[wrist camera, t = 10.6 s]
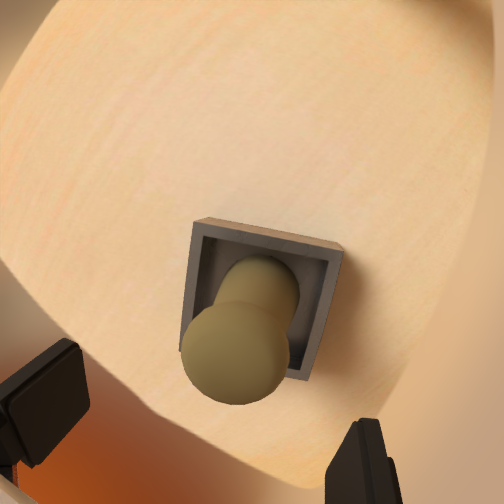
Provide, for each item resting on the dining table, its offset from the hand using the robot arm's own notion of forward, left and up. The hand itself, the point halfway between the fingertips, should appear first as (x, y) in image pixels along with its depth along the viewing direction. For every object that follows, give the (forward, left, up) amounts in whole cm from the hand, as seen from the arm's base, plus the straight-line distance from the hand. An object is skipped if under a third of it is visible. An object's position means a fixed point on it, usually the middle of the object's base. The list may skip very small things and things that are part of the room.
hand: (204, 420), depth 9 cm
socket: (+1, 0, -16) cm, 16 cm away
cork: (+1, 0, -15) cm, 15 cm away
